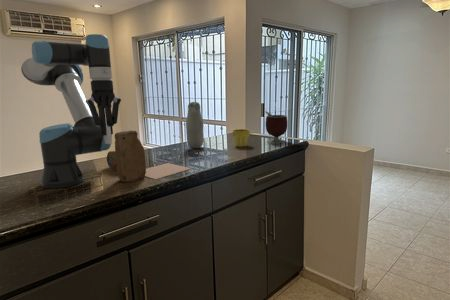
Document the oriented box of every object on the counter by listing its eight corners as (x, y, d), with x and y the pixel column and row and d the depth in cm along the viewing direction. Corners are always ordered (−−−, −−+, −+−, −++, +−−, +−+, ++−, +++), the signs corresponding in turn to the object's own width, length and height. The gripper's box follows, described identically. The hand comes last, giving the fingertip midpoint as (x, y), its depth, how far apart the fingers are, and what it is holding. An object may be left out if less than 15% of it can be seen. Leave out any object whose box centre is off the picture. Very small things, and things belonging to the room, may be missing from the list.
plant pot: (250, 147, 184) (250, 131, 182) (233, 147, 184) (232, 131, 182) (249, 144, 194) (248, 128, 192) (232, 144, 194) (232, 129, 192)
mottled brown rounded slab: (107, 167, 145) (105, 150, 144) (113, 166, 148) (111, 149, 146) (124, 172, 136) (122, 154, 134) (130, 170, 138) (128, 152, 136)
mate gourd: (290, 141, 198) (291, 110, 194) (280, 144, 188) (281, 112, 184) (270, 139, 208) (270, 110, 204) (259, 142, 197) (259, 111, 193)
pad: (155, 179, 123) (155, 179, 123) (132, 172, 134) (132, 172, 134) (191, 168, 138) (191, 168, 138) (167, 163, 149) (167, 163, 149)
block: (123, 184, 119) (117, 133, 115) (116, 179, 125) (111, 131, 120) (148, 178, 125) (144, 130, 121) (141, 174, 131) (137, 128, 127)
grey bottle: (184, 149, 183) (181, 102, 177) (192, 146, 192) (190, 101, 186) (199, 150, 179) (196, 102, 173) (206, 146, 188) (204, 101, 182)
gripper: (88, 79, 103) (96, 147, 108) (123, 79, 112) (129, 141, 117) (78, 80, 108) (87, 145, 113) (112, 80, 117) (119, 140, 122)
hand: (108, 143), depth 115 cm, fingers closed
